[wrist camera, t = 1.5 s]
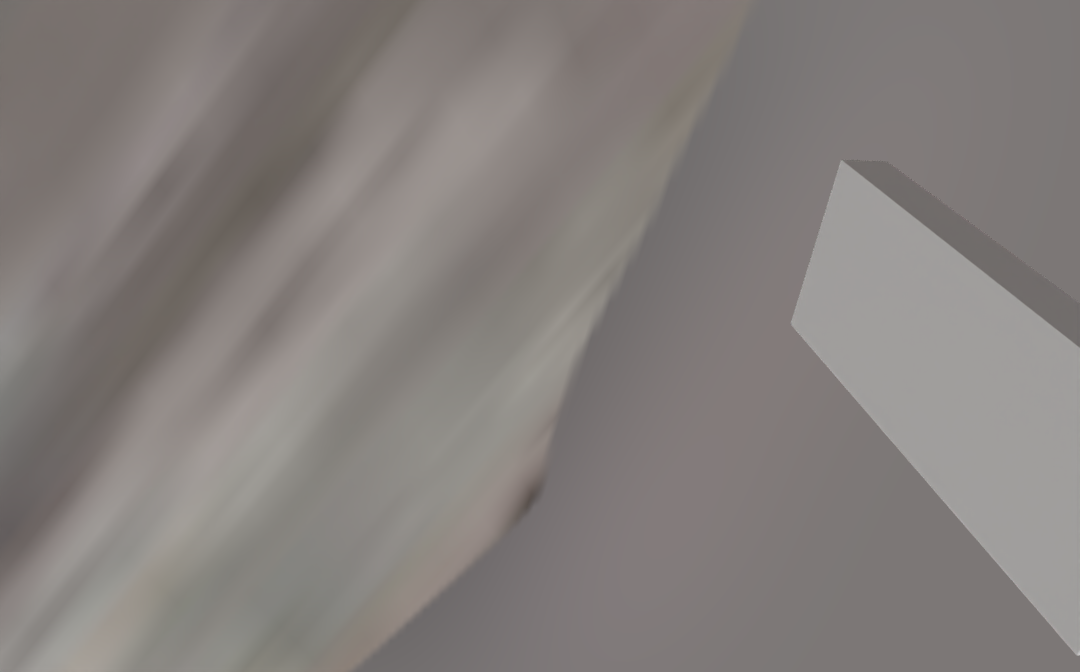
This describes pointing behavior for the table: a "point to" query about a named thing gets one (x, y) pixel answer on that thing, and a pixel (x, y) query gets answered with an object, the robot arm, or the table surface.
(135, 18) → the table surface
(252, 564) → the table surface
